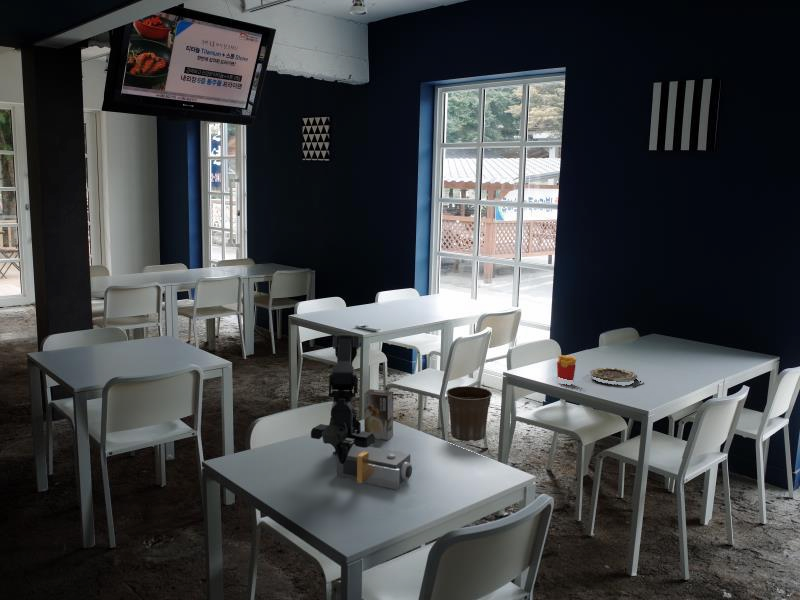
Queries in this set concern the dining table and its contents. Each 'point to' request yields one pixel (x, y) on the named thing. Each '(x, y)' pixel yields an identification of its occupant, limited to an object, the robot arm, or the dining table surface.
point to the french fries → (566, 367)
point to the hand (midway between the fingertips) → (342, 463)
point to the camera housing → (375, 462)
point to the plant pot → (468, 412)
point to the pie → (613, 374)
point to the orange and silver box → (376, 473)
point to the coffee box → (379, 413)
